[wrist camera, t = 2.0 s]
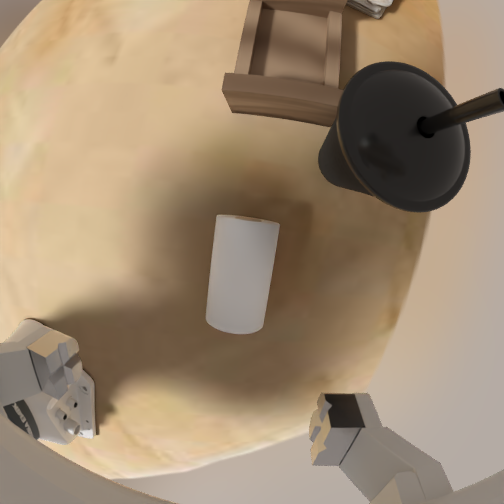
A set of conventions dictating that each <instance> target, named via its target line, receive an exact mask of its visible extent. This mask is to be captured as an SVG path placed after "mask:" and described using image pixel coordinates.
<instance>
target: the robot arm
mask: <svg viewBox="0 0 504 504" xmlns="http://www.w3.org/2000/svg"><path fill="white" fill-rule="evenodd" d="M78 351H79V346H78V341H76V340H75V339H74V338H72V337H70V336H67V335H65V334H63V333H61V332H58V331H56V330H54V329H51V328H49V327H47V326H44V325H43V324H41V323H39V322H37V321H35V320H31V319H26V320H23V321H22V322H20V324H19V325H18V327H17V328H16V329H15V330H14V332H13V333H12V334H11V335H10V336H9V337H8V338H7V339H6V340H5V341H4V342H3V343H0V504H178V503H175V502H171V501H168V500H164V499H160V498H158V497H154V496H151V495H148V494H145V493H142V492H140V491H136V490H134V489H131V488H129V487H126V486H124V485H121V484H119V483H116V482H114V481H112V480H109V479H107V478H105V477H102V476H100V475H98V474H96V473H94V472H92V471H90V470H88V469H86V468H84V467H82V466H80V465H78V464H76V463H74V462H72V461H71V460H69V459H67V458H65V457H63V456H62V455H60V454H58V453H57V452H55V451H53V450H52V449H50V448H48V447H47V446H45V445H44V444H42V443H41V442H39V441H38V440H37V439H42V440H46V441H50V442H53V443H57V444H62V445H66V444H69V443H71V442H72V441H73V440H74V439H75V438H76V437H77V436H80V437H84V438H94V437H95V435H96V426H95V385H94V381H93V380H92V378H91V377H90V376H89V375H88V374H87V373H86V372H85V371H84V370H83V369H82V361H81V359H80V357H79V356H78V354H77V353H78ZM317 405H318V409H317V410H316V411H314V412H313V415H312V417H311V421H310V427H309V437H310V440H311V441H312V442H313V445H312V448H311V458H312V465H319V466H320V465H321V466H323V465H324V466H339V468H340V469H341V470H342V471H343V472H344V473H345V474H346V476H347V477H348V478H349V479H350V480H351V481H352V482H353V484H354V485H355V486H356V487H357V488H358V489H359V490H360V491H361V492H362V493H363V495H364V496H365V497H367V499H368V500H369V501H370V503H369V504H504V470H502V471H500V472H498V473H496V474H494V475H492V476H490V477H488V478H486V479H484V480H481V481H479V482H477V483H475V484H472V485H470V486H468V487H465V488H463V489H460V490H458V491H455V492H453V490H452V487H451V485H450V483H449V481H448V479H447V476H446V475H445V472H444V470H443V468H442V465H441V463H440V462H438V461H436V460H435V459H433V458H432V457H430V456H429V455H427V454H426V453H424V452H423V451H421V450H420V449H418V448H417V447H415V446H414V445H412V444H411V443H409V442H408V441H406V440H405V439H403V438H402V437H401V436H399V435H398V434H396V433H395V432H393V431H392V430H391V429H389V428H388V427H383V426H382V424H381V421H380V419H379V417H378V414H377V412H376V409H375V407H374V404H373V402H372V399H371V397H370V395H369V394H367V393H352V394H345V393H321V394H320V396H319V398H318V401H317Z"/></svg>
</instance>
